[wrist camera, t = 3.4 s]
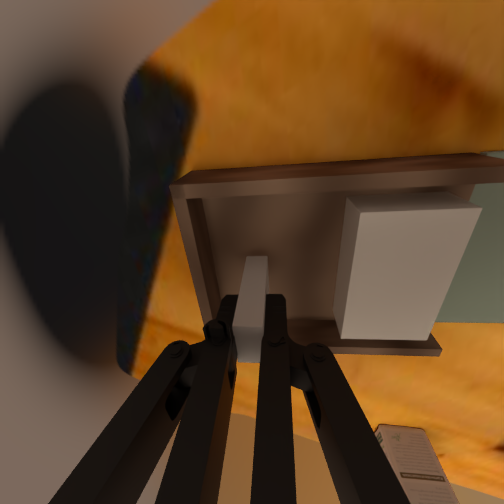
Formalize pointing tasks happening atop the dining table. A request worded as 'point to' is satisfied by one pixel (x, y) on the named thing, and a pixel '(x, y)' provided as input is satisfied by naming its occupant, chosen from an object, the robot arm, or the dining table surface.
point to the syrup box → (415, 465)
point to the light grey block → (399, 262)
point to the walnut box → (303, 231)
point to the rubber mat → (480, 263)
